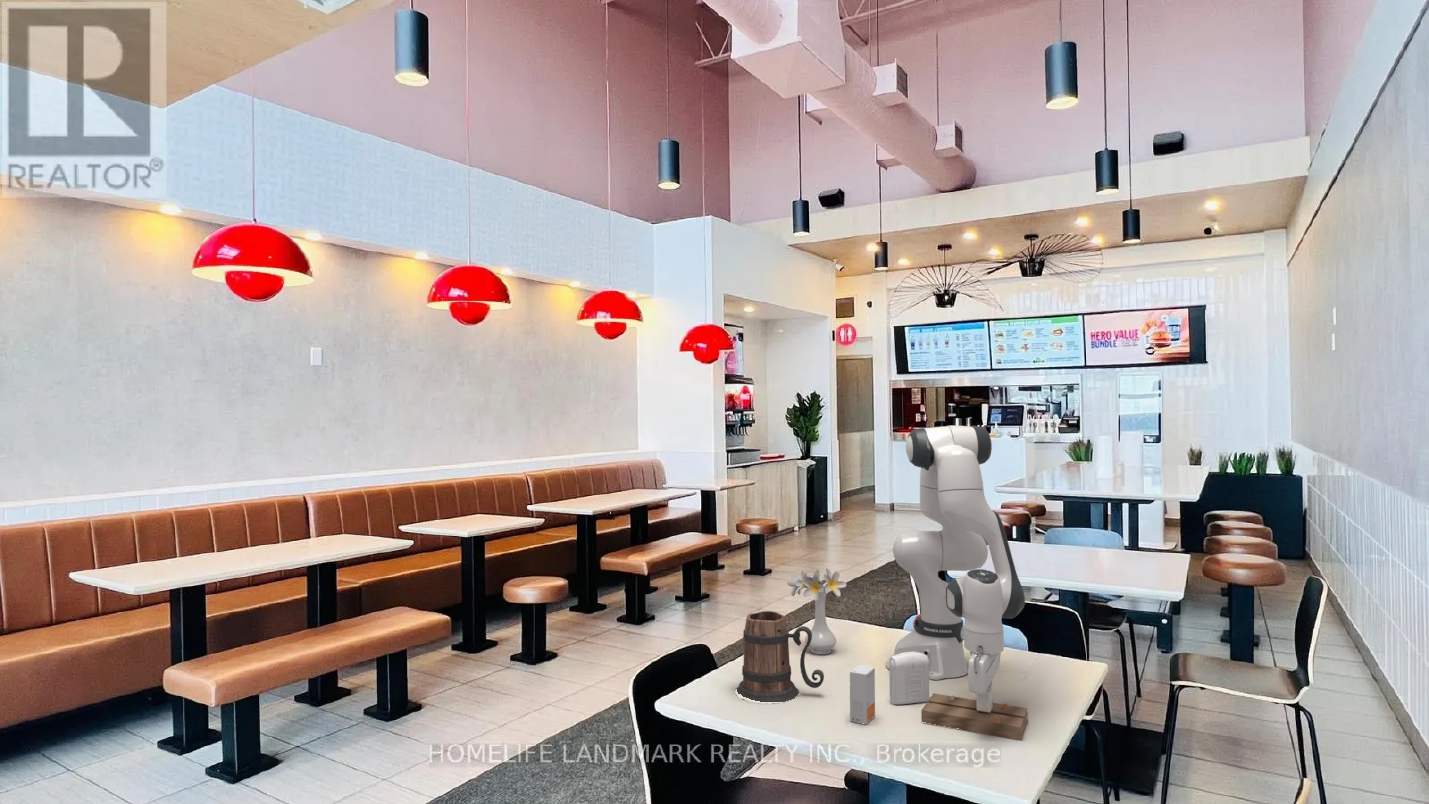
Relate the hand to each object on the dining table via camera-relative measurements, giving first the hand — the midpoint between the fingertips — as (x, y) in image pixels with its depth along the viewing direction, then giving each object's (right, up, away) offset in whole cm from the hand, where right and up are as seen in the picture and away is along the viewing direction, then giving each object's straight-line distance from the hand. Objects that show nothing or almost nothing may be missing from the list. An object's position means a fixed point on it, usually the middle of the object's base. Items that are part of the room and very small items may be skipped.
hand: (984, 699), depth 186 cm
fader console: (-2, -6, +1) cm, 6 cm away
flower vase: (-32, -6, +55) cm, 64 cm away
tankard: (-46, -7, +22) cm, 52 cm away
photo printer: (-14, -6, +15) cm, 21 cm away
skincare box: (-28, -6, +4) cm, 29 cm away
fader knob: (0, -4, 0) cm, 4 cm away
